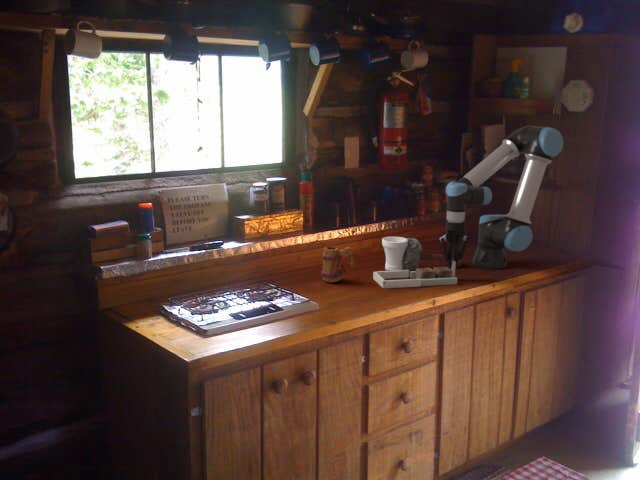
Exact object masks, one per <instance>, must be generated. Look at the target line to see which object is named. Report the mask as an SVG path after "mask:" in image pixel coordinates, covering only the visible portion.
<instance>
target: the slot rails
mask: <svg viewBox="0 0 640 480" xmlns="http://www.w3.org/2000/svg"><path fill="white" fill-rule="evenodd" d="M409 279H416V270H415V271H409ZM447 285H451V286H452V285H458V277H457V276H455V277H452V278H433V279H420V287H426V286H427V287H428V286H429V287H431V286H433V287H434V286H447Z"/></svg>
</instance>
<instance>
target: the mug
mask: <svg viewBox="0 0 640 480" xmlns="http://www.w3.org/2000/svg"><path fill="white" fill-rule="evenodd" d="M320 256H321V258H322V271H320V275H321V277H322V280H323V281H324V282H327V283H337V282H339V281H341V280H342V276H343V273H344V275H347V274H349V273H350V272H351V271H352V270H353V269H354V267H355V265H356V254H355V251H354V250H353V248H351V247H349V246H347V247H345V248H343V249H340V247H338V246H334V245H333V246H325V247H323V253H322V254H321V255H320ZM343 256H344V257H345V258H346V259H348V260H347V264H346V265H343V264H341V259H342V258H343Z"/></svg>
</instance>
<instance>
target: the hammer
mask: <svg viewBox="0 0 640 480" xmlns="http://www.w3.org/2000/svg"><path fill="white" fill-rule="evenodd" d="M406 239H407V240H408V245H407V247H406V250H405V252H404V255H403V262H402V267H403V269H402V270H409V272H410V271H416V268H420V267H419V266H420V261H442V262H445V263H447V264H448V260H446V259H444V257H443V254H435V253H429V252H426V251H423V245H422V244H421V243H420V241H419V240H418V239H417V238H414V237H411V238H410V237H407V238H406ZM453 256H454V253H453ZM453 260H454V259H453ZM462 264H463V259H462V260H459V261H458V264H457V268H460V267H461V266H462Z"/></svg>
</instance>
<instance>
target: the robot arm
mask: <svg viewBox="0 0 640 480" xmlns="http://www.w3.org/2000/svg"><path fill="white" fill-rule="evenodd" d="M563 147H564V138H563V136H562V134H561V132H560V131H559V130H558V129H556V128H555V127H554V128H553V127H550V126H539V125H538V126H537V125H525V126H523V127H521V128H518V129H517V130H515V131H513V132H512V133H511V134H509V135H507V136H506V137H505V138H504V139H503V140H502V142H501V145H499V146H498V147H497V148H495V150H493V152H491V153H490V154H488V155H487V156H486V157H485V158H484V159H483V160H482V161H480V162H479V163H477V165H475V167H473V168H472V169H471V170H469V171H468V172H467V173H466V174H465V175H464V176H462V177H461V178H460V179H458V181H457V180H455V181H453V180H452V181H450V182H449V183H448V184H447V185H446V187H445V195H446V196H447V201H446V203H447V206H446V221H445V232H444V235H443V236H440V237H439V238H438V239H439V242H440V244H441V251H442V255H443V257H444V259H446V260H448V263H447V267H448V268H449V269H450V270H452V278H453V277H456V269H458V267H457V264H458V261H459V260H462V261H463V257H464V254H465V251H466V248H467V244H468V242H469V241H470V237H468V236H467V235H466V233H465V227H466V225H465V224H466V223H465V221H466V210H467V207H472V206H486V205H489V204H491V203H492V197H493V193H492V190H491V188H490V187H487V186H481V185H483V183H484V182H486V181H487V180H488V179H489V178H490V177H492V176H493V175H494V174H495V173H496V172H498V171H499V170H500V169H501V168H503V167H504V166H505V165H506V164H507V163H508V162H510V161H511V160H512V159H514V158H518V157H519V156H521V155H522V154H524V157H525V159H526V161H525V164H524V166H523V170H522V174H521V175H520V179H519V182H518V186H517V188H516V191H515V194H514V198H513V201H512V204H511V207H510V210H509V212H508V213H507V214H484V215H481V216H480V217H479V223H478V237H477V238H478V239H477V249H476V250H475V253H474V255H473V258H472V265H473V266H475V267H478V268H481V269H488V270H499V269H501V270H502V269H505V268H507V265H508V260H507V257H506V252H505V249H507V250H508V251H512V252H522V251H524V250H525V249H527V248H528V247H529V246H530V244H531V243H532V241H533V237H534V233H533V230H532V229H531V226H532V222H531V219H530V217H531V214H532V211H533V208H534V206H535V202H536V198H537V196H538V193H539V189H540V188H541V187H540V186H541V184H542V181H543V177H544V174H545V172H546V168H547V166H548V165H549V164H551V163H552V162H553V160H554V157H556V156H558V155H559V154H561V152H562V151H563ZM446 241H447V242H446ZM447 245H448V246H447ZM453 254H454V256H453ZM453 259H454V260H453Z"/></svg>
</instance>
